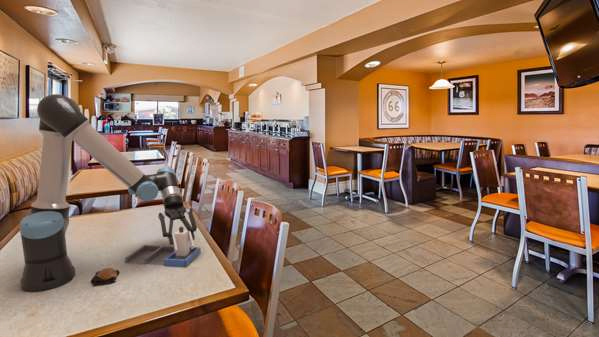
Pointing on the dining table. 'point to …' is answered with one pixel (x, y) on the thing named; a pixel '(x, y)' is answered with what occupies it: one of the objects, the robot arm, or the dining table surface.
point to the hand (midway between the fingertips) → (184, 249)
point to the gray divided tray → (161, 256)
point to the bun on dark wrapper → (105, 277)
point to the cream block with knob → (182, 242)
